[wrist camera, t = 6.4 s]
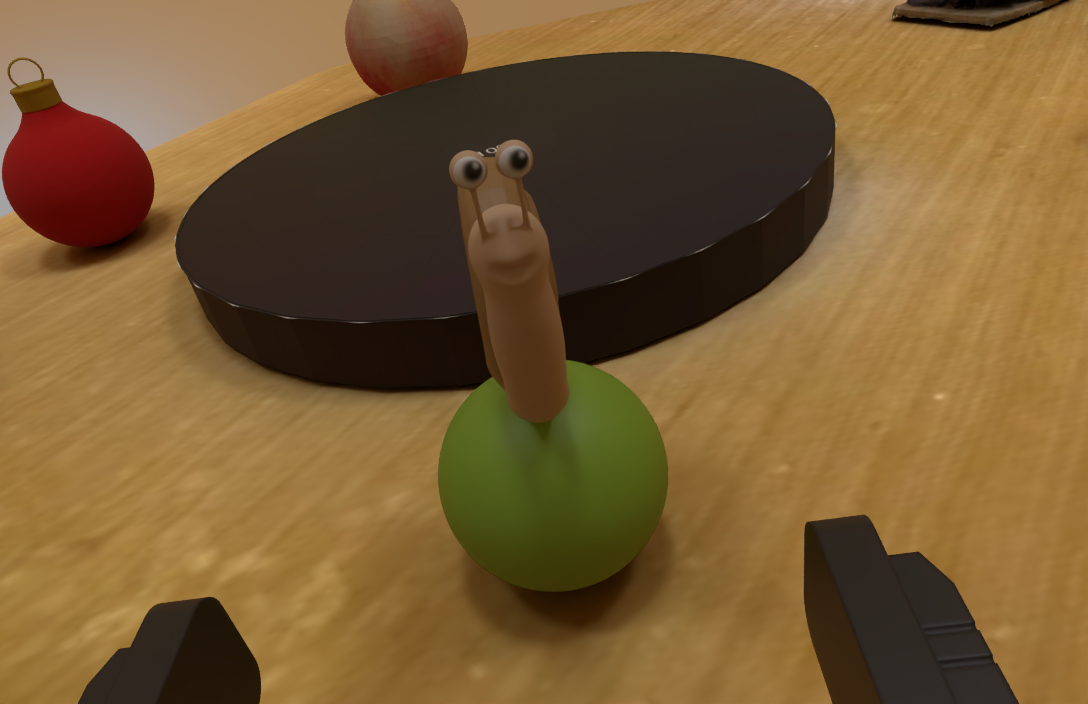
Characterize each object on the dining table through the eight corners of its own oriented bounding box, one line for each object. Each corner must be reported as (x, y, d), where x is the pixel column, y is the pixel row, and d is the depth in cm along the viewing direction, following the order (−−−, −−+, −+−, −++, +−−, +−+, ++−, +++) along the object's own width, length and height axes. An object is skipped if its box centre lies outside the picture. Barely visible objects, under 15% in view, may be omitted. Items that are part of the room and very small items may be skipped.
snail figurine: (483, 706, 17) (293, 198, 11) (458, 504, 23) (320, 79, 16) (723, 642, 18) (681, 108, 11) (642, 456, 23) (582, 21, 16)
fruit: (387, 127, 54) (350, 0, 49) (354, 103, 60) (319, -11, 55) (494, 92, 56) (468, -33, 52) (451, 73, 62) (425, -39, 58)
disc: (577, 72, 56) (571, 27, 55) (987, 165, 34) (997, 94, 32) (147, 233, 45) (122, 183, 43) (341, 530, 23) (305, 450, 21)
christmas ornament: (162, 201, 49) (81, 31, 44) (188, 233, 44) (101, 45, 38) (39, 245, 46) (-63, 71, 41) (52, 285, 41) (-63, 91, 36)
